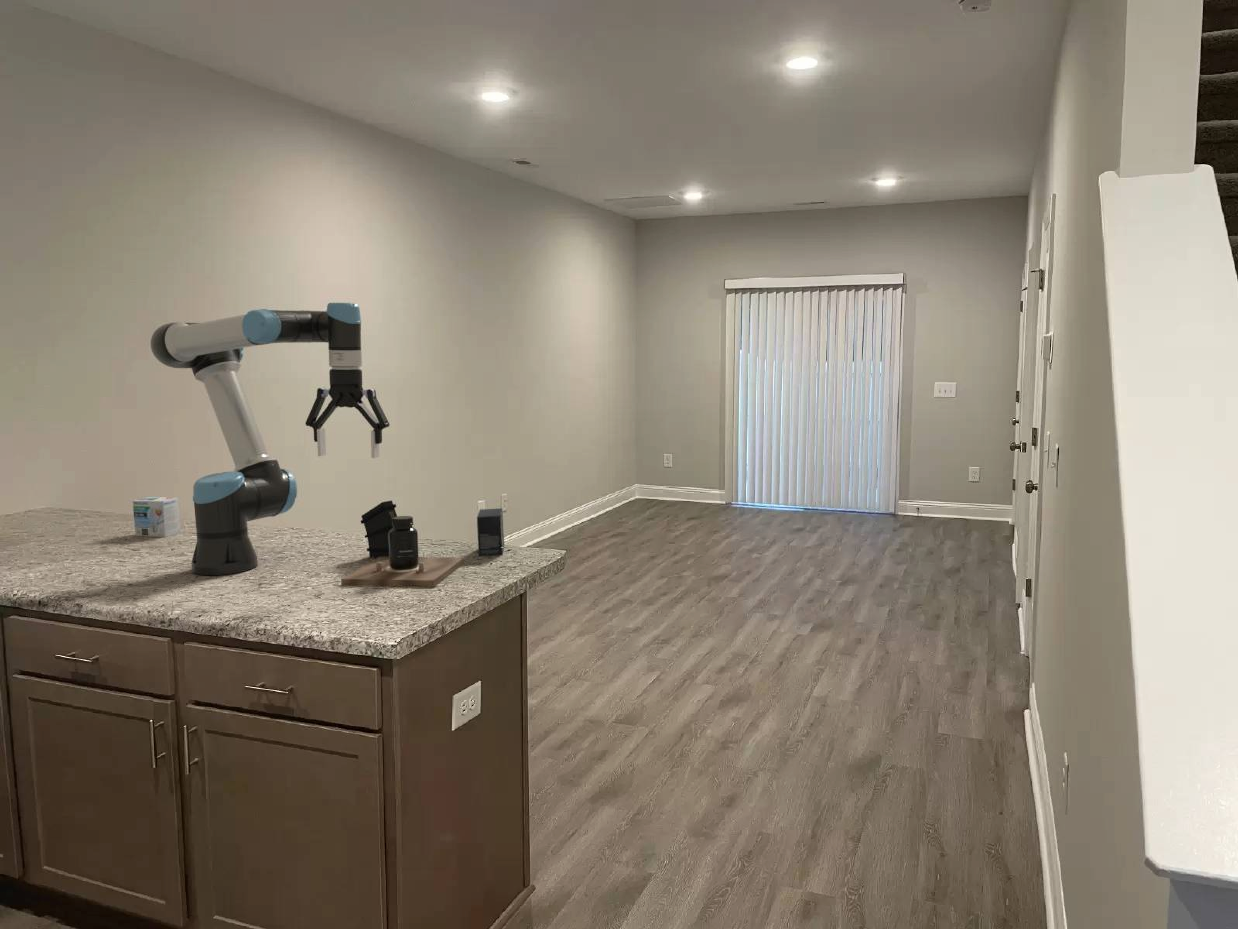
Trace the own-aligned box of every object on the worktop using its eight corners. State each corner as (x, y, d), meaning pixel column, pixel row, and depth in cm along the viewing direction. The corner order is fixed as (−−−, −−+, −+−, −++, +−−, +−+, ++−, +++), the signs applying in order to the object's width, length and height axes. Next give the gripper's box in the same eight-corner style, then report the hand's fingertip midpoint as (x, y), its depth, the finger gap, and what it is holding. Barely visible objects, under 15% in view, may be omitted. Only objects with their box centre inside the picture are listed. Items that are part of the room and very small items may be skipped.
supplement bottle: (404, 571, 215) (401, 521, 214) (383, 568, 219) (380, 518, 217) (425, 565, 221) (422, 516, 219) (404, 562, 225) (401, 513, 223)
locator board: (341, 585, 211) (340, 570, 211) (379, 562, 233) (378, 548, 232) (434, 587, 208) (433, 571, 207) (464, 563, 229) (463, 549, 229)
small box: (480, 547, 248) (478, 508, 246) (504, 546, 248) (503, 507, 247) (477, 556, 237) (475, 516, 236) (503, 555, 238) (501, 515, 236)
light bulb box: (134, 536, 273) (131, 500, 271) (150, 531, 279) (147, 496, 278) (166, 537, 270) (162, 500, 269) (181, 532, 277) (178, 497, 275)
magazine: (400, 557, 230) (381, 501, 232) (373, 573, 238) (355, 519, 240) (413, 555, 233) (394, 499, 235) (385, 570, 241) (367, 516, 243)
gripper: (288, 367, 219) (292, 456, 222) (389, 369, 215) (391, 460, 218) (303, 366, 226) (307, 452, 229) (401, 368, 223) (403, 455, 226)
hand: (348, 456), depth 224 cm, fingers open, 13 cm apart
